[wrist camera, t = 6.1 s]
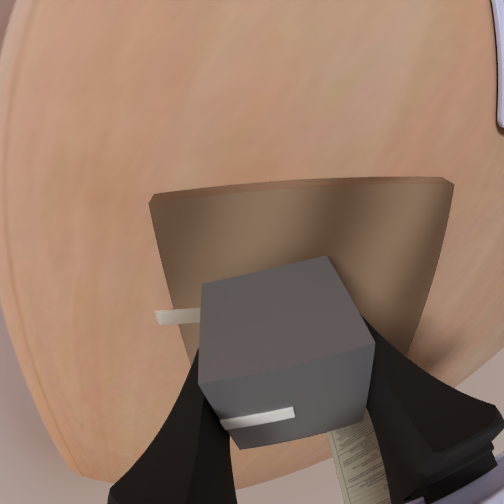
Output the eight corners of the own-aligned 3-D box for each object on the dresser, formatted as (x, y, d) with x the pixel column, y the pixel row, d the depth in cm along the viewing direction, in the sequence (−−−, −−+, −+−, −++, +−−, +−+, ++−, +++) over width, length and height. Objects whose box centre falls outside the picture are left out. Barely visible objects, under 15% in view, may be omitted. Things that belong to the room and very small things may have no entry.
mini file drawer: (326, 255, 12) (376, 345, 8) (331, 340, 14) (363, 423, 10) (201, 283, 12) (197, 386, 8) (232, 363, 15) (240, 451, 10)
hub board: (442, 177, 12) (489, 206, 9) (400, 342, 18) (422, 382, 15) (133, 197, 12) (105, 236, 9) (183, 372, 17) (180, 421, 14)
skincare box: (354, 416, 23) (391, 539, 12) (317, 409, 21) (351, 552, 11) (410, 372, 20) (468, 505, 10) (377, 361, 19) (440, 521, 8)
